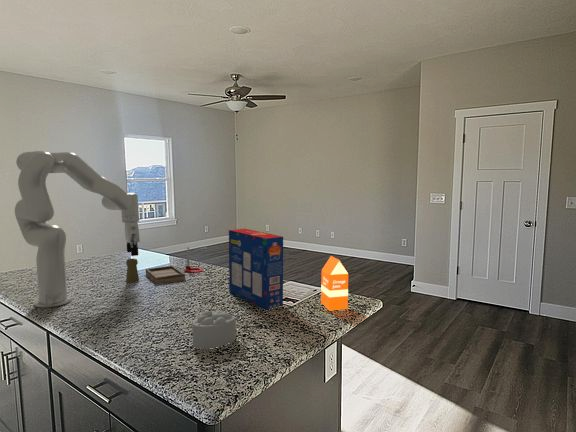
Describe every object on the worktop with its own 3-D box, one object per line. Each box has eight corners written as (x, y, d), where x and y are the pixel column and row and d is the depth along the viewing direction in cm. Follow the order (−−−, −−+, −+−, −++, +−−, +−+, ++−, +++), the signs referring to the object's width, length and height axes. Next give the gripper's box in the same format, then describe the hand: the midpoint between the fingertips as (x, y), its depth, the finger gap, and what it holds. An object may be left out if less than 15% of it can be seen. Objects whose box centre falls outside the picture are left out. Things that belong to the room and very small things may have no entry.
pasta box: (282, 306, 145) (283, 236, 142) (266, 310, 140) (266, 238, 137) (244, 289, 167) (244, 228, 164) (229, 292, 162) (228, 230, 159)
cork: (135, 278, 184) (134, 257, 182) (141, 280, 180) (140, 258, 179) (123, 281, 179) (122, 259, 178) (129, 283, 175) (128, 260, 174)
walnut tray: (185, 280, 182) (184, 273, 181) (155, 284, 174) (155, 277, 174) (173, 271, 198) (172, 265, 198) (145, 275, 190) (145, 269, 190)
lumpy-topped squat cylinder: (240, 340, 115) (239, 313, 114) (204, 354, 106) (203, 325, 105) (220, 330, 122) (220, 305, 121) (185, 342, 113) (184, 315, 112)
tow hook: (205, 270, 203) (190, 268, 205) (206, 247, 201) (190, 245, 203) (198, 274, 194) (182, 272, 197) (198, 250, 193) (182, 248, 195)
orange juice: (328, 312, 139) (329, 260, 136) (320, 305, 147) (321, 255, 145) (348, 311, 141) (349, 259, 139) (338, 303, 149) (339, 254, 147)
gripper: (142, 220, 171) (144, 256, 173) (134, 216, 186) (136, 249, 188) (125, 221, 167) (127, 258, 169) (118, 217, 181) (121, 251, 184)
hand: (132, 253), depth 179 cm, fingers open, 9 cm apart
